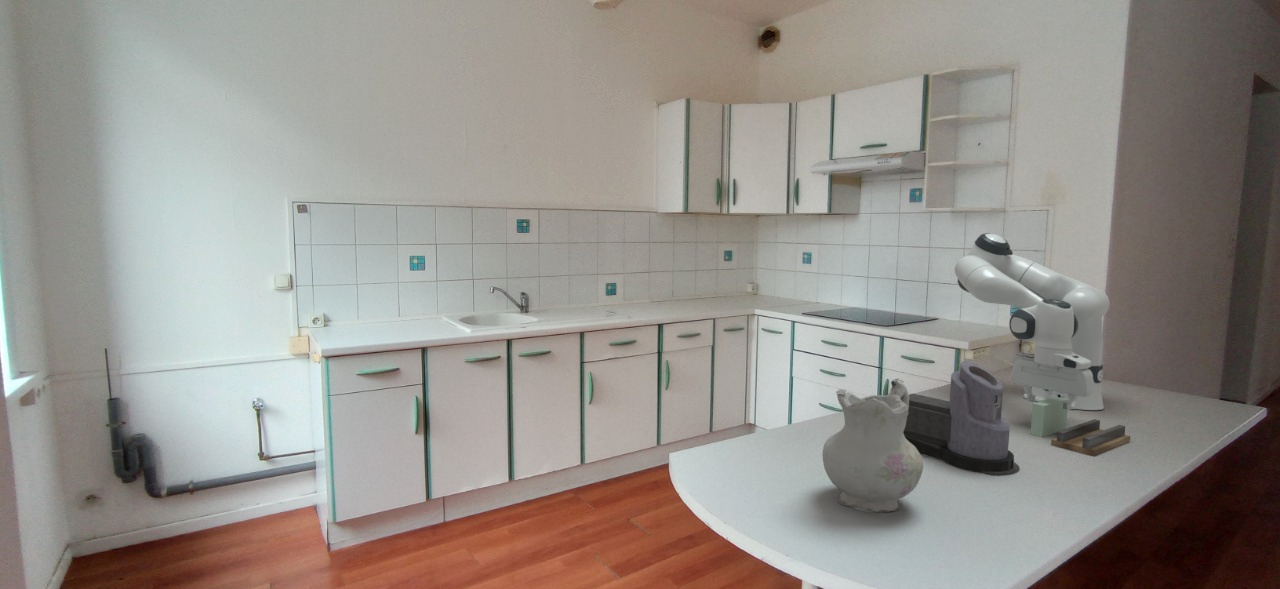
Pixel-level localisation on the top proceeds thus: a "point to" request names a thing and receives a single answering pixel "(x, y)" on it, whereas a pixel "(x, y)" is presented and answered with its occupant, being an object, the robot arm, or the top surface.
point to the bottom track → (1090, 438)
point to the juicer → (964, 424)
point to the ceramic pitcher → (873, 451)
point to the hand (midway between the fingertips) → (1048, 405)
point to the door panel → (1048, 417)
